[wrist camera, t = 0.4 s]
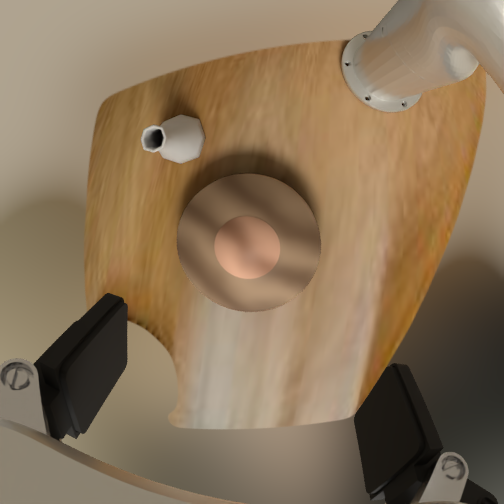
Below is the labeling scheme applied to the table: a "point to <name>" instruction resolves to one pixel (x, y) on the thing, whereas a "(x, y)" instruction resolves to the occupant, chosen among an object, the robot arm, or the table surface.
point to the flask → (175, 138)
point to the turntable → (249, 242)
